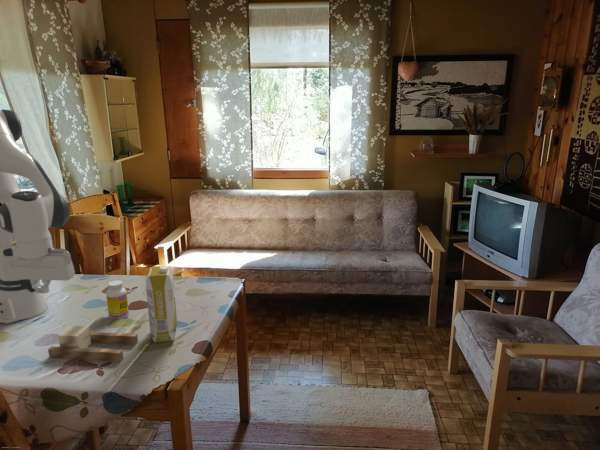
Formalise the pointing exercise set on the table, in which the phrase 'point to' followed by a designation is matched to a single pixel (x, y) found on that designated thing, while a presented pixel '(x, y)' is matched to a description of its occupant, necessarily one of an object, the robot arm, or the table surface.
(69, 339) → the block
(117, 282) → the supplement bottle
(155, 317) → the juice carton
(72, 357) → the chute
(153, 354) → the table surface
